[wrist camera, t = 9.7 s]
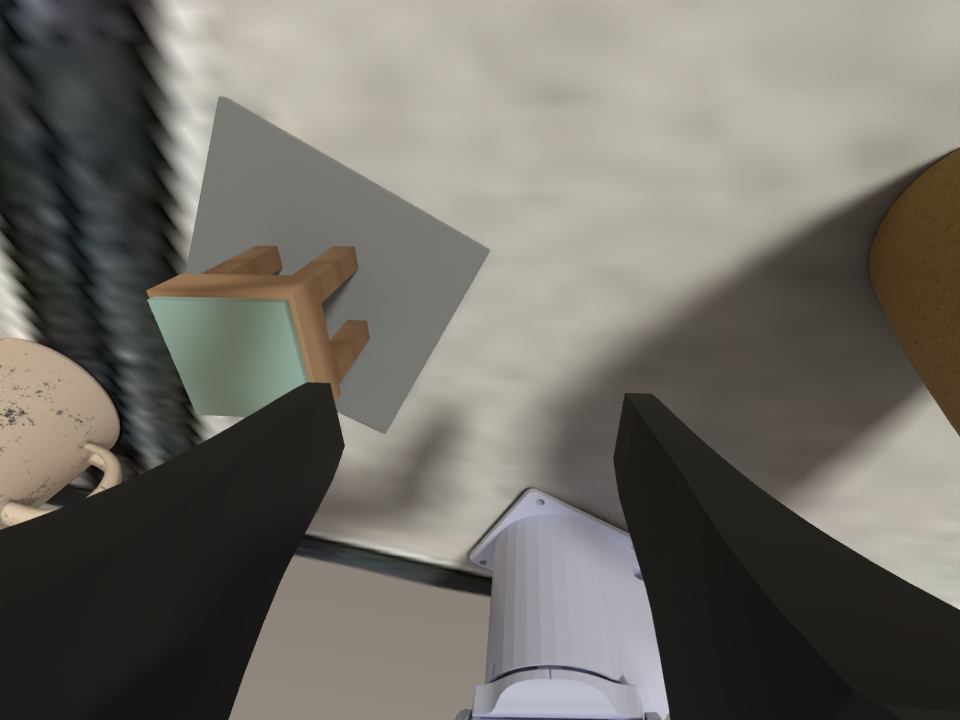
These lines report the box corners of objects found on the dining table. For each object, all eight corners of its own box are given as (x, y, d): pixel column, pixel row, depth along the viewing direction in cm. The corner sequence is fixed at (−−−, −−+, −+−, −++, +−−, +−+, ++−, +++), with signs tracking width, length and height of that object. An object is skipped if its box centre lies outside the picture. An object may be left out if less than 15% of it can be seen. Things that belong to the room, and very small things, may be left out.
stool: (358, 241, 19) (288, 297, 13) (374, 342, 21) (320, 424, 16) (250, 241, 19) (139, 293, 14) (278, 339, 22) (193, 418, 16)
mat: (489, 249, 19) (489, 252, 19) (387, 429, 25) (385, 433, 24) (224, 96, 17) (218, 96, 17) (179, 331, 23) (174, 334, 22)
